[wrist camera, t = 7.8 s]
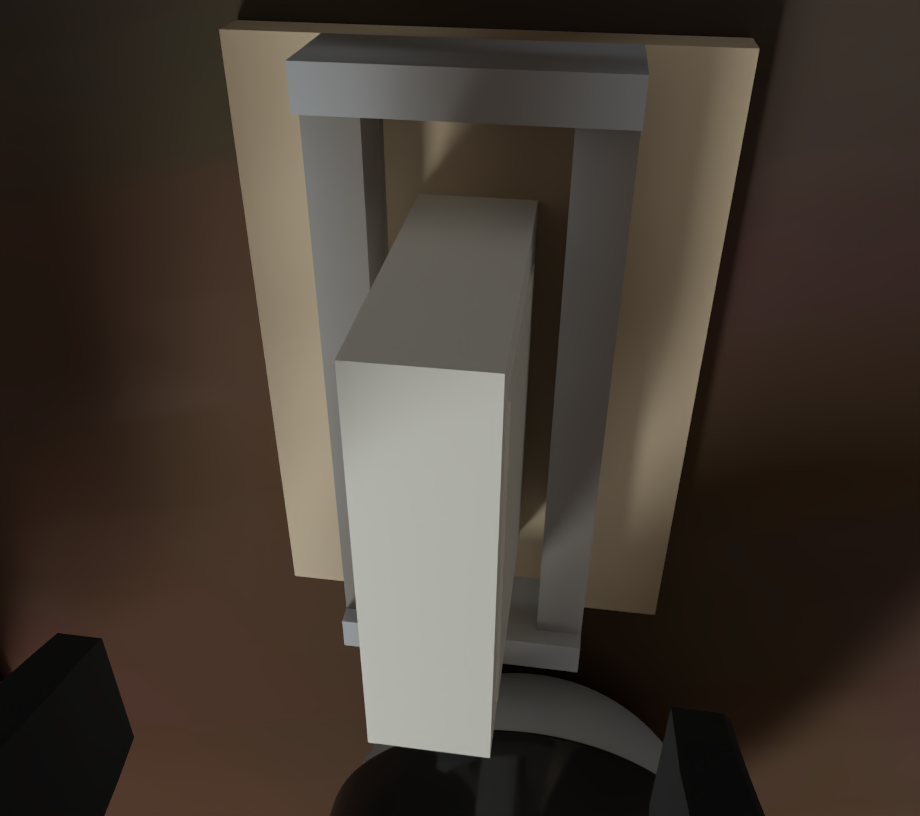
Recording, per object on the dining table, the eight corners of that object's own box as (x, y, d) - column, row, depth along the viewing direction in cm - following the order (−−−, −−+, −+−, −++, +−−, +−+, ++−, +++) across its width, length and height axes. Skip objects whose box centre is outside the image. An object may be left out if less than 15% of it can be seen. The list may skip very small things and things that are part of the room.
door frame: (304, 554, 23) (270, 636, 21) (235, 19, 16) (171, 55, 13) (653, 590, 22) (658, 681, 20) (752, 38, 15) (779, 80, 12)
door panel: (423, 521, 21) (365, 742, 16) (416, 193, 16) (330, 359, 11) (521, 531, 20) (492, 757, 16) (541, 200, 16) (509, 374, 11)
